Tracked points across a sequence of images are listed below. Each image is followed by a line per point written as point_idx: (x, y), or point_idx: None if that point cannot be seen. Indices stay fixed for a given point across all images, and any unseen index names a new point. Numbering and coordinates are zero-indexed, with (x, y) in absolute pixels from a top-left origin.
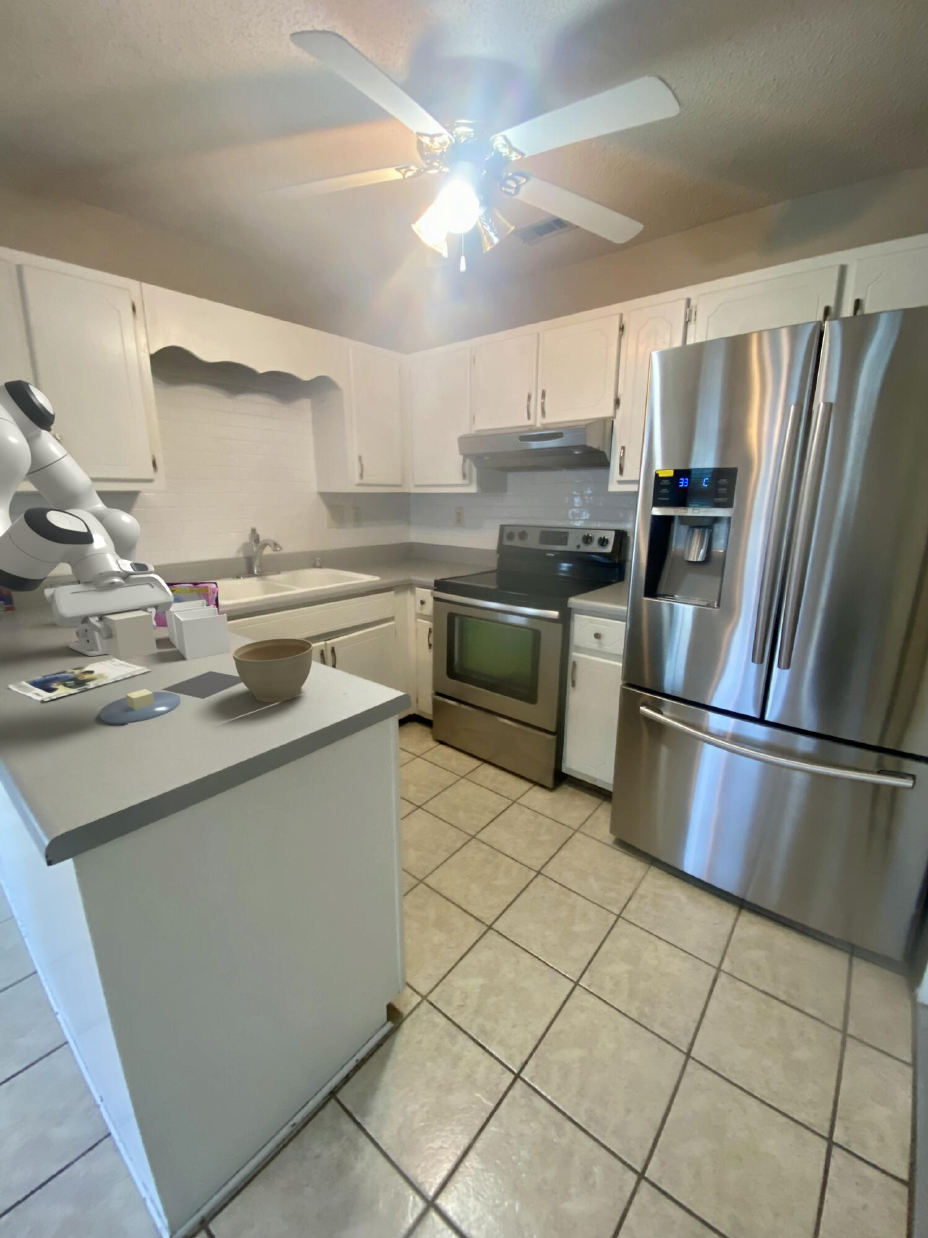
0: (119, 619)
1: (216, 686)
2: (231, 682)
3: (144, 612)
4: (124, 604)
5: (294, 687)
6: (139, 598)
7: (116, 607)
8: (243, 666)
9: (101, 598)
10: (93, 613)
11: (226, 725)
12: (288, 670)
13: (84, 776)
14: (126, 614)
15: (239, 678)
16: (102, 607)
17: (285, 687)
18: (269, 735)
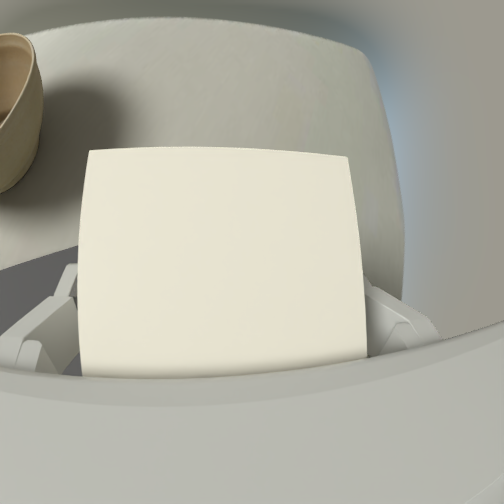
0: (318, 155)
1: (31, 296)
2: (4, 291)
3: (92, 249)
4: (209, 415)
5: (7, 92)
6: (27, 454)
7: (295, 389)
8: (34, 83)
9: (427, 485)
10: (440, 342)
11: (133, 99)
12: (10, 53)
13: (340, 114)
14: (228, 290)
15: None
16: (408, 381)
17: (20, 84)
18: (125, 40)
